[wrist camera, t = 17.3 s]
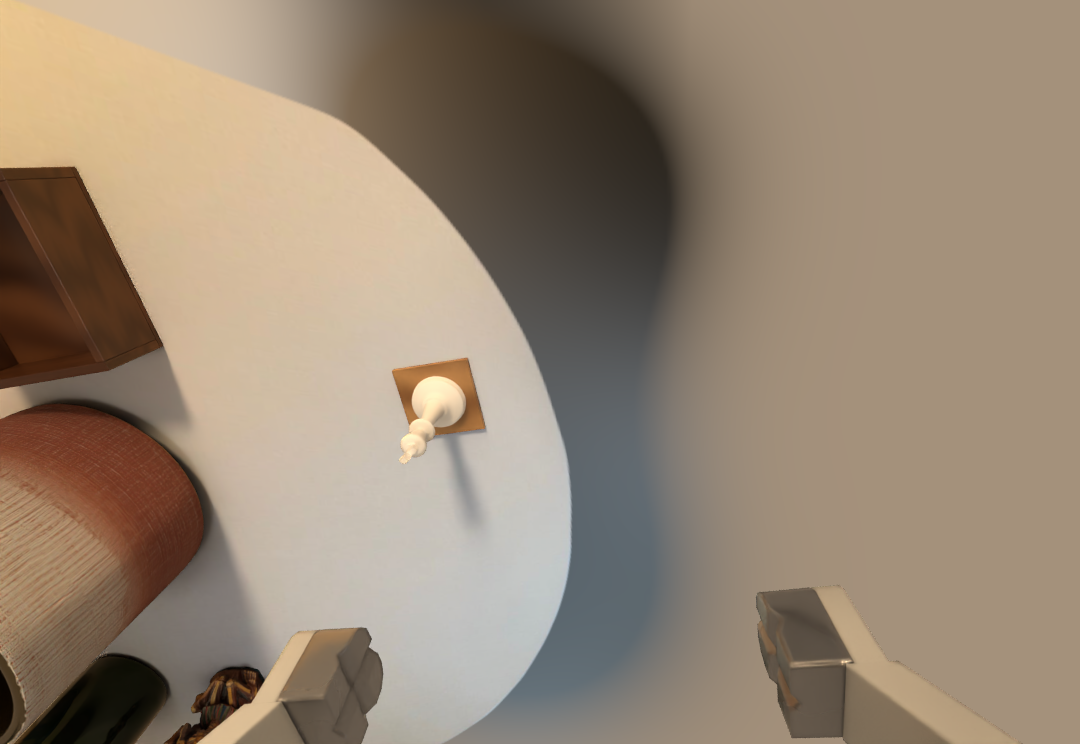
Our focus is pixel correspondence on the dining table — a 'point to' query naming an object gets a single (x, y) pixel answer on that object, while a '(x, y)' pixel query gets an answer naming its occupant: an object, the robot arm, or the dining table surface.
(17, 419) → the planter
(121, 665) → the green wine bottle
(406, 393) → the coaster
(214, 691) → the figurine
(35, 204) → the crate
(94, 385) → the dining table surface
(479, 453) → the dining table surface
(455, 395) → the chess piece
